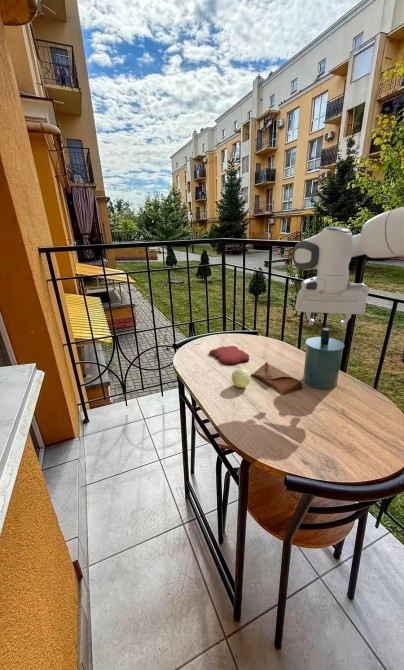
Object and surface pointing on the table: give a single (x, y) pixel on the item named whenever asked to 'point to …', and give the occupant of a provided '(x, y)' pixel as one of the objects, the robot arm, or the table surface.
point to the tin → (321, 368)
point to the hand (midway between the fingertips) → (326, 325)
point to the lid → (325, 342)
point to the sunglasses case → (277, 379)
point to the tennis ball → (241, 378)
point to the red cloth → (230, 355)
